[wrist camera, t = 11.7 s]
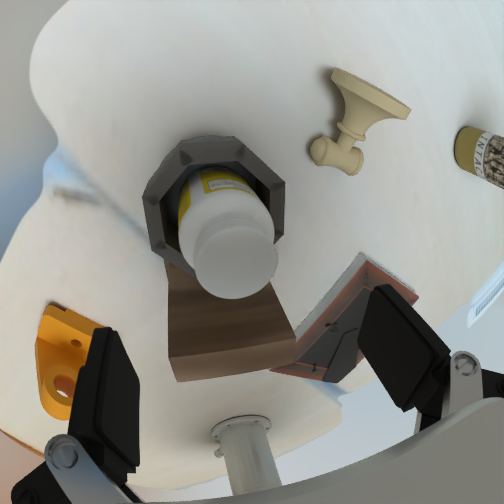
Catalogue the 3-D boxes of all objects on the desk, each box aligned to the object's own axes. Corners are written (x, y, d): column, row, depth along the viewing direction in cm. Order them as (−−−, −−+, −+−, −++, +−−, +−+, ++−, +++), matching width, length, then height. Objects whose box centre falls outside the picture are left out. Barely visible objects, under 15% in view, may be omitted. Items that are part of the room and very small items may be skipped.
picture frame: (332, 374, 50) (411, 289, 43) (337, 383, 48) (420, 298, 41) (264, 359, 43) (357, 250, 36) (268, 371, 41) (367, 260, 34)
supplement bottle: (204, 242, 23) (219, 326, 15) (164, 190, 21) (153, 256, 12) (261, 206, 23) (308, 274, 15) (226, 149, 20) (258, 187, 12)
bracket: (121, 334, 34) (113, 412, 24) (104, 362, 36) (96, 433, 26) (50, 298, 29) (19, 372, 19) (40, 331, 31) (16, 400, 21)
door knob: (376, 200, 27) (308, 181, 24) (347, 159, 32) (287, 140, 30) (426, 120, 20) (358, 81, 18) (384, 91, 25) (323, 61, 23)
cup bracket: (257, 278, 34) (297, 372, 22) (171, 289, 32) (174, 393, 20) (256, 127, 25) (321, 154, 14) (148, 136, 24) (112, 172, 12)
